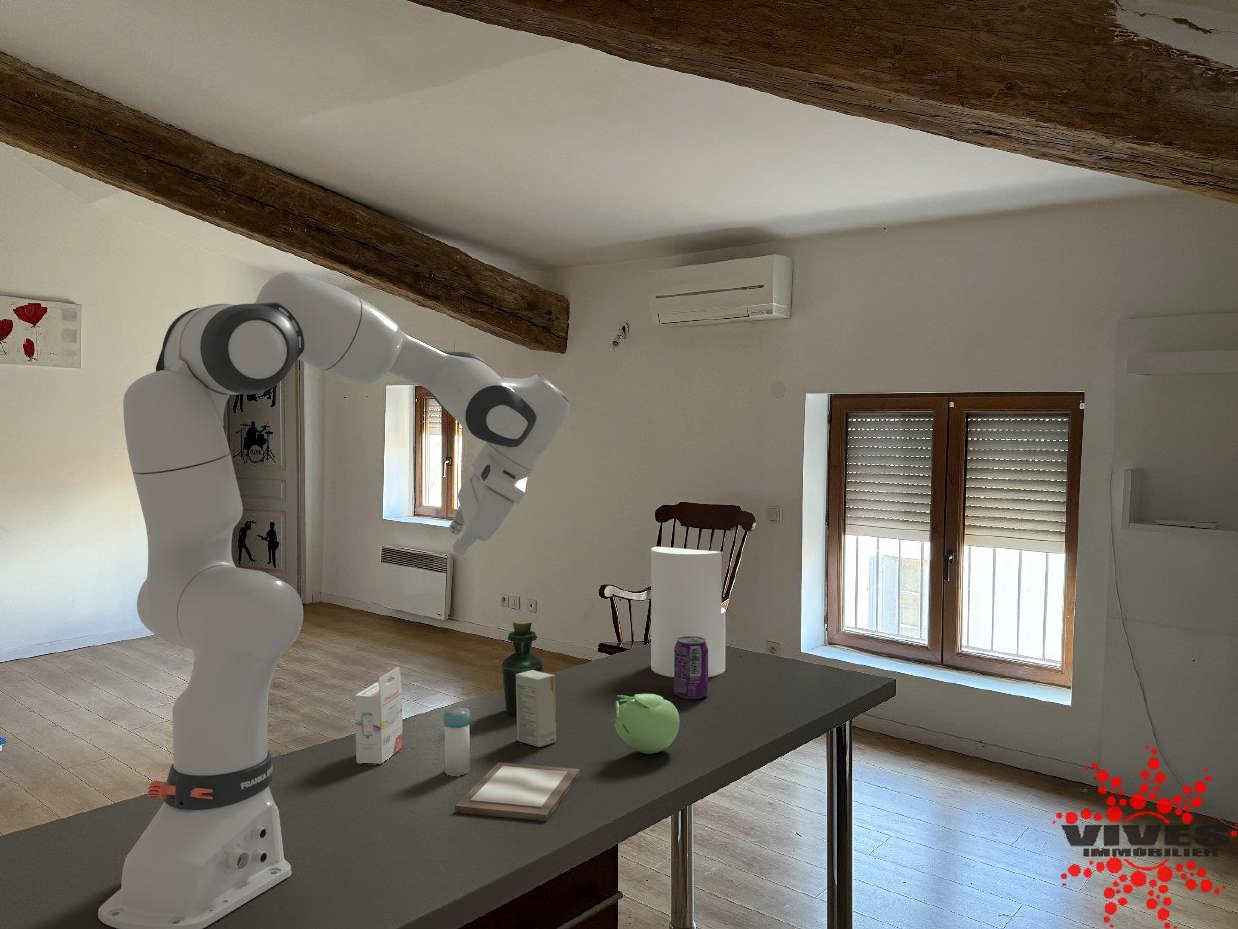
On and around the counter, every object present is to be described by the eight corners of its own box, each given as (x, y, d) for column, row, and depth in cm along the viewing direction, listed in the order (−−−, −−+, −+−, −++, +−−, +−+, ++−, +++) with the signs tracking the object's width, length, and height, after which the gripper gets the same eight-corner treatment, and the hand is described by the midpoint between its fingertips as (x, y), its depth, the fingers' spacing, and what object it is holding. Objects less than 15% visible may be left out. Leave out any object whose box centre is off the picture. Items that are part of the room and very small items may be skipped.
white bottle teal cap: (464, 777, 150) (463, 716, 149) (440, 775, 151) (439, 714, 150) (474, 768, 154) (473, 708, 153) (450, 766, 155) (450, 707, 154)
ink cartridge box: (377, 746, 164) (376, 664, 164) (403, 748, 163) (402, 665, 163) (354, 763, 156) (353, 677, 155) (381, 766, 155) (380, 678, 154)
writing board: (546, 821, 133) (546, 813, 133) (455, 812, 136) (455, 804, 136) (579, 775, 151) (579, 768, 151) (498, 768, 154) (498, 761, 154)
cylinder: (703, 682, 205) (703, 556, 204) (637, 671, 215) (637, 550, 214) (737, 665, 220) (738, 547, 219) (674, 655, 229) (674, 542, 228)
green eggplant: (631, 738, 169) (631, 678, 168) (687, 749, 163) (687, 687, 162) (597, 759, 158) (597, 695, 158) (655, 771, 153) (655, 705, 152)
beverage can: (713, 694, 196) (714, 638, 196) (698, 703, 190) (698, 644, 190) (684, 689, 200) (684, 634, 199) (668, 697, 194) (668, 640, 193)
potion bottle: (533, 719, 179) (532, 627, 178) (495, 715, 182) (494, 624, 181) (549, 707, 187) (549, 619, 186) (512, 703, 189) (512, 616, 189)
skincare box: (557, 742, 166) (557, 675, 166) (539, 748, 163) (538, 679, 163) (533, 734, 171) (533, 668, 170) (515, 740, 168) (514, 673, 167)
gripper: (477, 445, 157) (434, 512, 158) (491, 478, 138) (441, 554, 139) (509, 463, 159) (466, 530, 161) (526, 498, 140) (477, 573, 141)
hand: (454, 541), depth 150 cm, fingers open, 8 cm apart
